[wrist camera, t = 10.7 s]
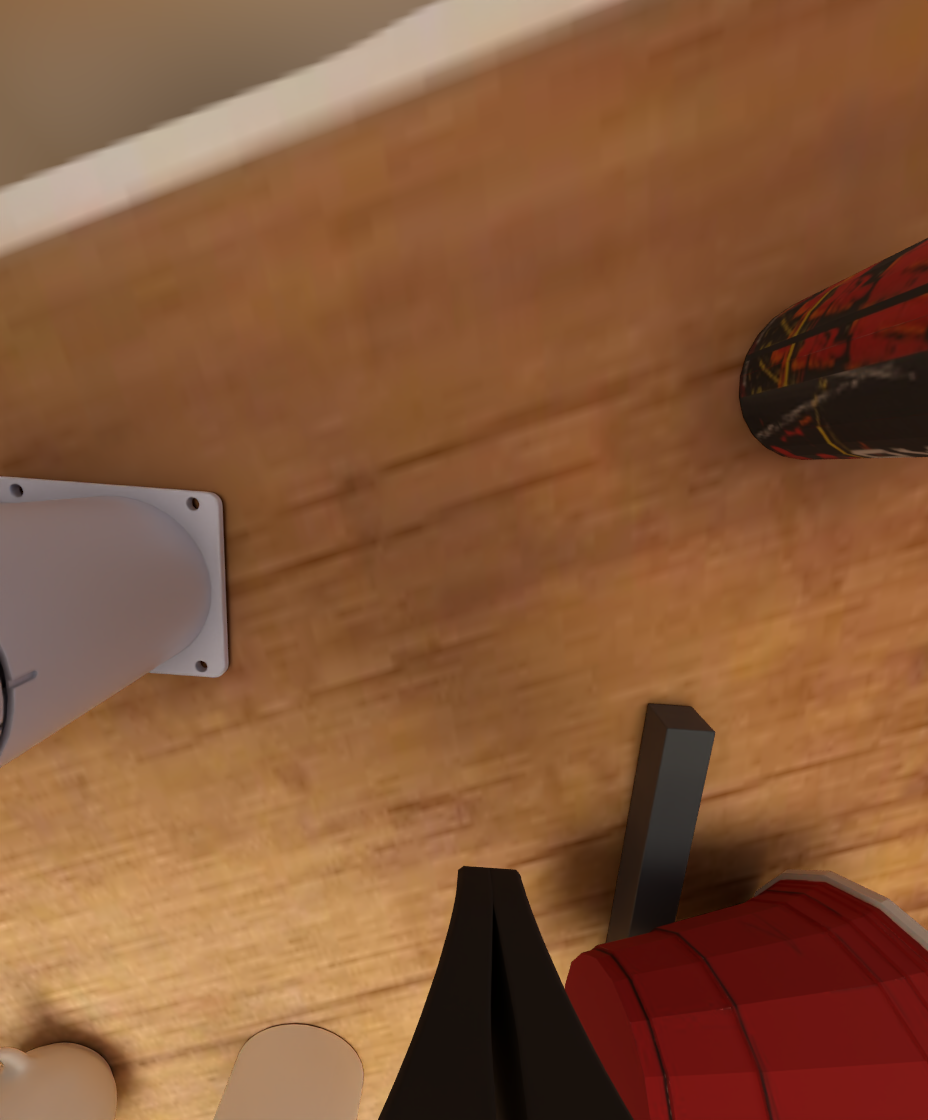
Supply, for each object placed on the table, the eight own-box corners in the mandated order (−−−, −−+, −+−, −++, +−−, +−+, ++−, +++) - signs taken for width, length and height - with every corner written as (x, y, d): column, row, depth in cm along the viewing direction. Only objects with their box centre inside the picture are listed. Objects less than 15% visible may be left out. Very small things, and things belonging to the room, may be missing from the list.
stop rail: (593, 1009, 24) (605, 1058, 22) (647, 702, 20) (667, 728, 18) (631, 1011, 24) (645, 1060, 22) (691, 706, 20) (716, 732, 18)
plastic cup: (518, 955, 22) (728, 951, 24) (608, 1439, 12) (950, 1357, 14) (587, 799, 18) (831, 812, 20) (808, 1337, 8) (1239, 1243, 10)
